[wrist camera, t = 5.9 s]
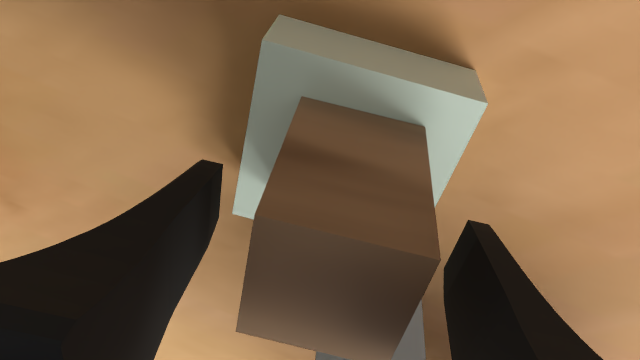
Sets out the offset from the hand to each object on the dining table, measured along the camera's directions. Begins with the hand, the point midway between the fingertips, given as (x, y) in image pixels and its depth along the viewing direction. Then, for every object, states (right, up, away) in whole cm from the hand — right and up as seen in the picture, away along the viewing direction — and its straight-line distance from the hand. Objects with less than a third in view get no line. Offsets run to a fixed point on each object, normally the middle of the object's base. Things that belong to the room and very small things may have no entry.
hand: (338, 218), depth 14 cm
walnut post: (0, +2, +2) cm, 3 cm away
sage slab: (+1, +3, +5) cm, 6 cm away
